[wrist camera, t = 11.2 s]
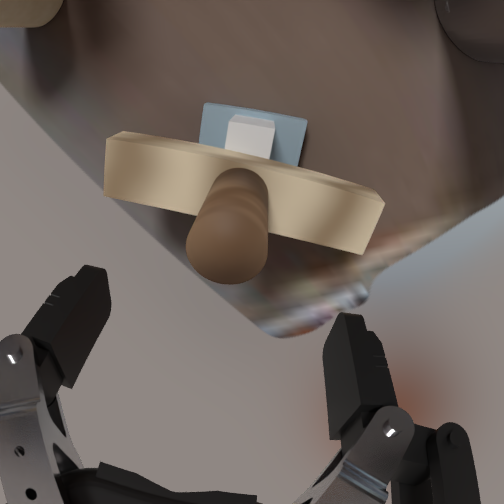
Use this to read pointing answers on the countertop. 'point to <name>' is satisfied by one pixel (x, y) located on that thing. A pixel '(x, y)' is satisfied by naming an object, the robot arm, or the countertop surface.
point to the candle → (27, 12)
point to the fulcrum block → (253, 132)
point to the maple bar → (238, 201)
